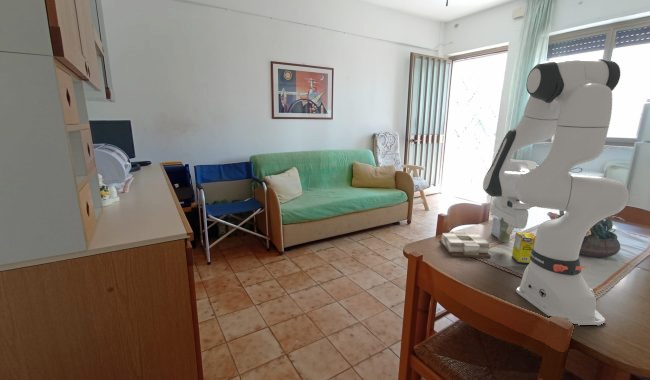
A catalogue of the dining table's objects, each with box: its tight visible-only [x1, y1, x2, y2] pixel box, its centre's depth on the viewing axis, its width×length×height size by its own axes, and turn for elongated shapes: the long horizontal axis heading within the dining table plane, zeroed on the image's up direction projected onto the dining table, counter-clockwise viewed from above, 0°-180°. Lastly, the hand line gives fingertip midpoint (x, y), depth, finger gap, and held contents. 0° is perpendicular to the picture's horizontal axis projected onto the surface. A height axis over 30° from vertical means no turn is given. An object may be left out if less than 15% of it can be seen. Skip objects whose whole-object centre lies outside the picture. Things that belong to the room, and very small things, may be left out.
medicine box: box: [491, 216, 500, 239], centre depth 140 cm, size 8×4×9 cm, turn 179°
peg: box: [497, 218, 511, 243], centre depth 125 cm, size 4×4×10 cm
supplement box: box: [511, 231, 536, 265], centre depth 116 cm, size 6×6×11 cm
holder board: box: [439, 230, 492, 259], centre depth 127 cm, size 16×16×5 cm
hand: (505, 231), depth 125 cm, fingers closed on peg, 4 cm apart
